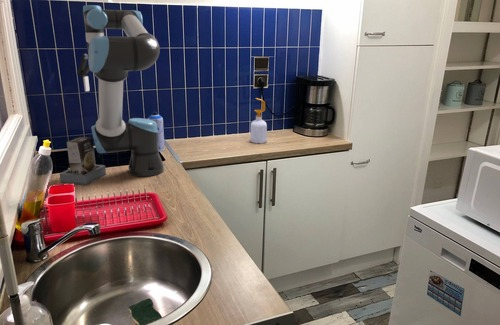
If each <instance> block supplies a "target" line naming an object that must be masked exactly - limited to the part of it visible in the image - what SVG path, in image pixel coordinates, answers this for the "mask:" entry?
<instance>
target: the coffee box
mask: <svg viewBox="0 0 500 325" xmlns="http://www.w3.org/2000/svg"><path fill="white" fill-rule="evenodd" d="M66 146H67V154H68V155H67V156H68V164H69V168H70V173H71V174H79V175H85V174H87V173H89V172H91V171H92V170H94V169H96V165H97V164H96V157H95V145H94V138H93V137H92V136H91V137H89V136H85V137H83V136H79V137H76V138H74V139H71V140H68V141H66Z"/></svg>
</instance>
